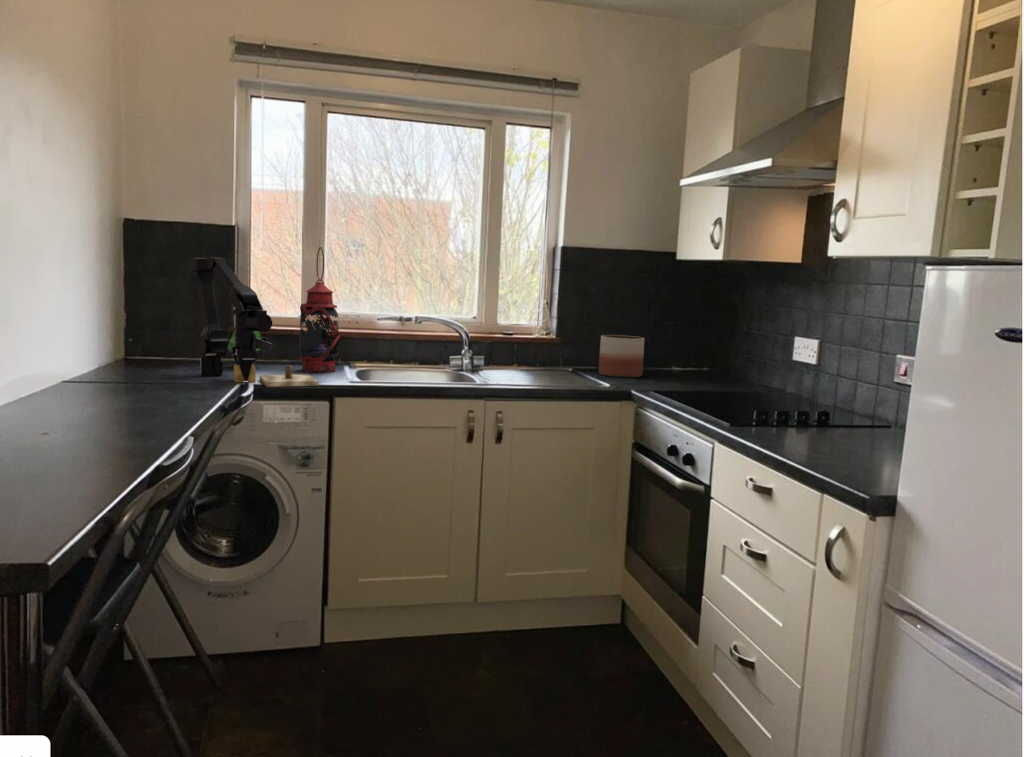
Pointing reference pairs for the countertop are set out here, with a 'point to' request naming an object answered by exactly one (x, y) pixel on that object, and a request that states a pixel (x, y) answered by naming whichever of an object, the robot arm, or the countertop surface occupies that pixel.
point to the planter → (621, 356)
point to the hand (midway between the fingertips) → (244, 378)
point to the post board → (288, 379)
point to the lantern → (318, 329)
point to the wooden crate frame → (239, 377)
